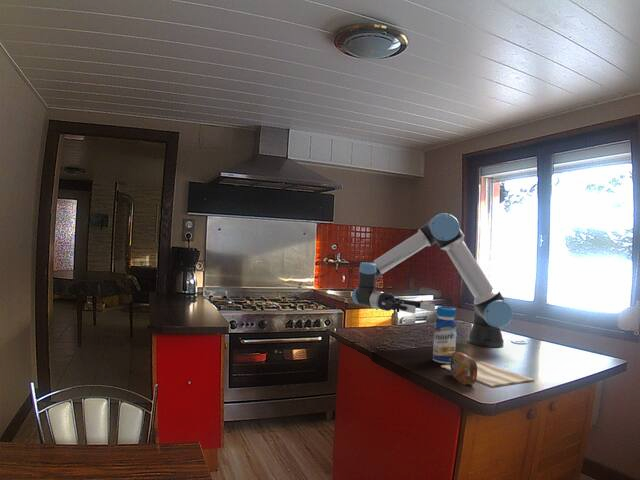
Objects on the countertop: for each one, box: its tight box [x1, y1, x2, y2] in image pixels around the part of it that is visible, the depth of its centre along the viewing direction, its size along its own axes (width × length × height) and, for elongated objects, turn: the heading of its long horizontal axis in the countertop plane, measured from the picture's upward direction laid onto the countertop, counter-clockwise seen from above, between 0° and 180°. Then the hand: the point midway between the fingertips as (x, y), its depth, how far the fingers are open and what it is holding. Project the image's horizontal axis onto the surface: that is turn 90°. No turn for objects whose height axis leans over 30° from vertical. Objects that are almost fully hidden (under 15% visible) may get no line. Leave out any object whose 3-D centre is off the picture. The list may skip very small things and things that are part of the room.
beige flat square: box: [440, 360, 535, 388], centre depth 145 cm, size 20×22×1 cm
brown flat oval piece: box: [449, 351, 477, 386], centre depth 136 cm, size 15×3×8 cm, turn 5°
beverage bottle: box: [432, 306, 458, 365], centre depth 159 cm, size 8×8×20 cm
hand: (425, 309), depth 167 cm, fingers open, 13 cm apart
